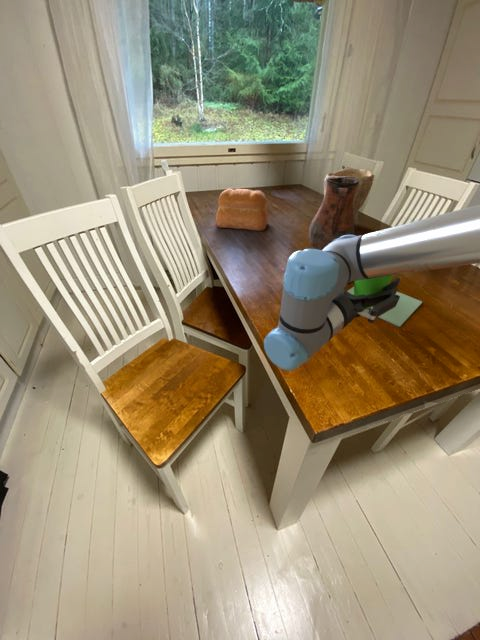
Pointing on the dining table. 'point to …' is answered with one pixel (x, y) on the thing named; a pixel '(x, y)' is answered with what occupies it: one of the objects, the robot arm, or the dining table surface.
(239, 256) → the dining table surface
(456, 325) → the dining table surface
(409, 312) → the cloth
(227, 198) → the bread
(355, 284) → the cup
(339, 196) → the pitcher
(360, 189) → the tan flared vase
